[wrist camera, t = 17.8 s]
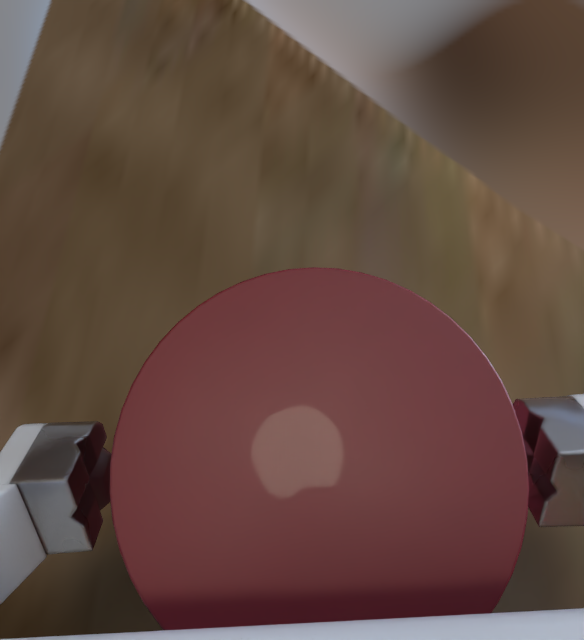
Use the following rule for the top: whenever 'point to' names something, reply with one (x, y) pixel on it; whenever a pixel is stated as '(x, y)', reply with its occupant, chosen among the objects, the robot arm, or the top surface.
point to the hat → (317, 460)
